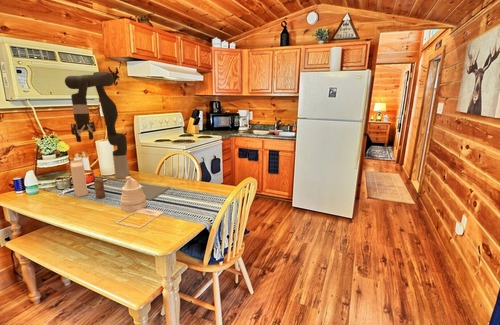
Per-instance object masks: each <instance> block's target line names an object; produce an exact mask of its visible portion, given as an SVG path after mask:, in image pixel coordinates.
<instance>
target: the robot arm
mask: <svg viewBox="0 0 500 325" xmlns="http://www.w3.org/2000/svg"><path fill="white" fill-rule="evenodd" d="M114 82H115V81H114V75H112V73H111V72H108V71H95V72H93V74H83V75H68V76H66V77H65V78H64V84H65V85H66V88H68V89H71V90H77V92H75V93H72V94H71V96H70V97H71V104H72V113H73V120H74V122H75V123H71V124H70V128H71V130H70V131H71V135H73V136H75V140H76V142H77V143H81V142H82V138H81V133H83V132H84V131H86V132H87V133H88V139H89V140H90V141H92V140H94V133H95V132H96V126H95V122H94V121H91V119H90V118H91V117H90V111H89V107H88V106H89V105H88V101H87V94H88V88H92V87H93V88H94V87H95V90H96V92H97V96H98V99H99V103H100V107H101V111H102V115H103V116H102V117H103V118H104V123H105V127H106V135H107V141H108V143H109V145H111V146H114V147H115V146H116V149H115V150H113V151H112V161H113V166H114V168H113V169H114V175H115V178H116V179H126V177H128V176H131V175H130V174H131V173H130V164H129V163H128V156H127V155H128V154H127V152H128V141H127V140H128V139H127V136H126V134H124V133H119V132H117V130H116V122H117V121H118V117H119V116H118V115H119V112H118V109H117V108H118V107H117V105H116V104H115V102H114V101H113V99H111V98H110V96H109V95H108V94H107V92H106V90H105V88H104V87H111V86H112V85H113V84H114Z"/></svg>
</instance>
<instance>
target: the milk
mask: <svg viewBox="0 0 500 325" xmlns="http://www.w3.org/2000/svg"><path fill="white" fill-rule="evenodd" d="M69 162H70V163H69V164H70V165H69V166H70V173H71V179H72V185H73V190H74V192H73V193H74V195H75V197H76V198H77V197H79V198H80V197H83V196H87V195H89V192H88V186H87V180H86V173H85V166H84V163H83V160H82V159H74V160H70V161H69Z"/></svg>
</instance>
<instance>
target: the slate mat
mask: <svg viewBox="0 0 500 325" xmlns="http://www.w3.org/2000/svg"><path fill="white" fill-rule="evenodd" d="M141 189H142V190H143V193H144V195H145V197H146V201H153V200H154V199H156V198H157V197H159V196H160V195H162V194H163V193H164V192H166V191H167V190H169V189H171V187H170V186H161V185H153V184H152V185H150V184H145V185H143V186H142V188H141Z"/></svg>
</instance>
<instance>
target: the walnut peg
mask: <svg viewBox="0 0 500 325" xmlns="http://www.w3.org/2000/svg"><path fill="white" fill-rule="evenodd" d="M93 185H94V191H95V192H94V193H95V199H97V200H100V199H101V200H102V199H104V197H105V198H106V193H105V192H106V191H105V186H104V185H105V184H104V179H102V178H97V179H94V180H93Z"/></svg>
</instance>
